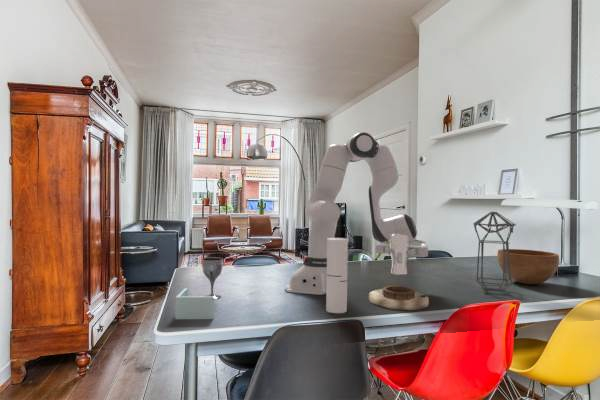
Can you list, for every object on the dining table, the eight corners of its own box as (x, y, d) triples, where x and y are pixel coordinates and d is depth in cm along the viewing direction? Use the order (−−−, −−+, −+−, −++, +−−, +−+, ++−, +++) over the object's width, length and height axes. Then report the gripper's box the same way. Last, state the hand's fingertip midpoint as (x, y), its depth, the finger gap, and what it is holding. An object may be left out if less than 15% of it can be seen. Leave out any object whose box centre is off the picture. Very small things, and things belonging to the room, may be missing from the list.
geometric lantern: (474, 293, 150) (473, 211, 151) (473, 286, 164) (473, 211, 165) (517, 298, 143) (516, 211, 144) (512, 290, 157) (512, 211, 158)
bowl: (556, 282, 174) (557, 251, 174) (561, 292, 153) (561, 258, 153) (498, 276, 188) (498, 247, 188) (495, 285, 167) (495, 253, 167)
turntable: (372, 308, 125) (373, 296, 125) (365, 292, 147) (366, 282, 147) (436, 311, 124) (436, 298, 124) (419, 294, 146) (420, 283, 146)
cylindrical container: (324, 307, 127) (325, 237, 127) (344, 307, 127) (345, 237, 127) (327, 313, 120) (329, 239, 120) (348, 313, 120) (349, 240, 120)
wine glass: (203, 301, 132) (204, 261, 133) (199, 295, 140) (200, 257, 140) (224, 298, 136) (225, 259, 136) (219, 293, 143) (220, 256, 143)
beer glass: (409, 275, 132) (409, 235, 132) (390, 274, 133) (390, 234, 133) (407, 271, 138) (407, 233, 138) (389, 271, 140) (389, 233, 140)
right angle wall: (213, 320, 113) (214, 297, 113) (175, 321, 112) (175, 297, 112) (219, 309, 125) (219, 288, 125) (184, 309, 124) (185, 288, 124)
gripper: (378, 238, 152) (371, 242, 139) (429, 241, 143) (426, 245, 131) (378, 253, 152) (371, 258, 139) (429, 257, 143) (426, 262, 131)
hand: (398, 251), depth 135 cm, fingers closed on beer glass, 6 cm apart
